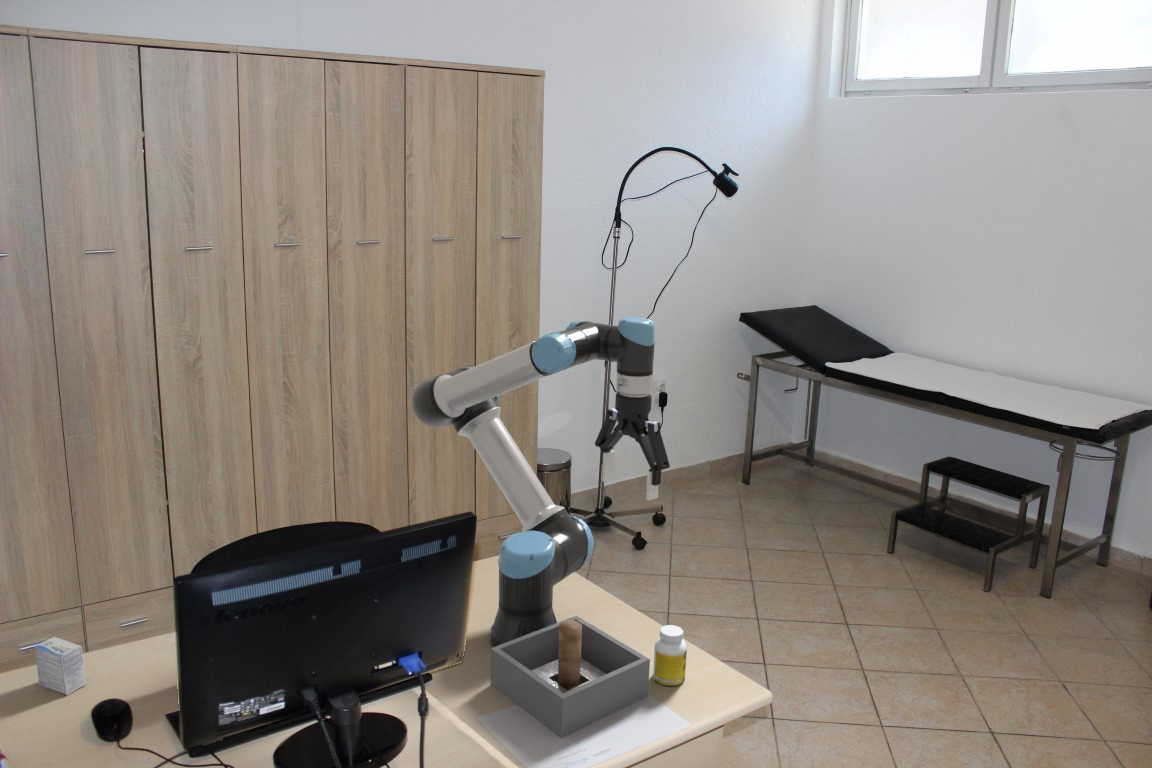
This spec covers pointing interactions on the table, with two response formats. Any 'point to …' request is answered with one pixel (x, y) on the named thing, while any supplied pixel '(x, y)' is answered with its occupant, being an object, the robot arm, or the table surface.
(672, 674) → the pill bottle
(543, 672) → the bore plate
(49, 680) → the medicine box
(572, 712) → the open box
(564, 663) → the walnut peg
